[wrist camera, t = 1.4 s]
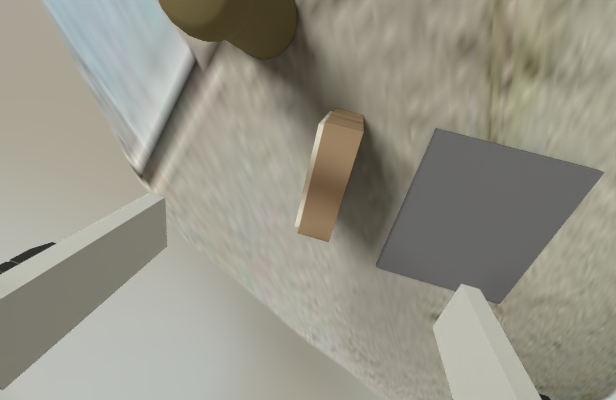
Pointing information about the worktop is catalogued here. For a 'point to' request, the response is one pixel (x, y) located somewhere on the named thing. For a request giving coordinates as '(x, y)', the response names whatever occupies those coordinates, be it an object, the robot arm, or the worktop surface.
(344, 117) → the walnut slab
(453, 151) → the mat
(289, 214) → the worktop surface
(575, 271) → the worktop surface
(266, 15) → the cork
